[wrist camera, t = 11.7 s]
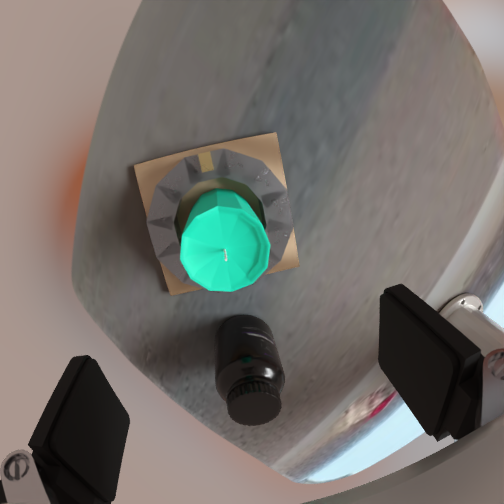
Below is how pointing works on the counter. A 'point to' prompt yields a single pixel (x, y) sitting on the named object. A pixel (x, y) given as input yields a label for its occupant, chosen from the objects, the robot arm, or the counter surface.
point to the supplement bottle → (248, 370)
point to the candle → (224, 242)
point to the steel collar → (206, 168)
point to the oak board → (252, 146)
